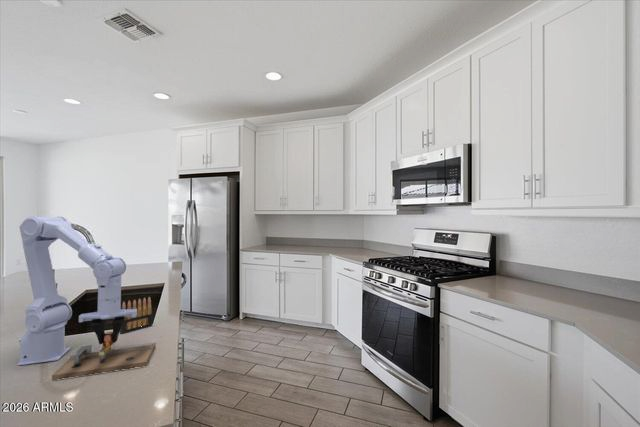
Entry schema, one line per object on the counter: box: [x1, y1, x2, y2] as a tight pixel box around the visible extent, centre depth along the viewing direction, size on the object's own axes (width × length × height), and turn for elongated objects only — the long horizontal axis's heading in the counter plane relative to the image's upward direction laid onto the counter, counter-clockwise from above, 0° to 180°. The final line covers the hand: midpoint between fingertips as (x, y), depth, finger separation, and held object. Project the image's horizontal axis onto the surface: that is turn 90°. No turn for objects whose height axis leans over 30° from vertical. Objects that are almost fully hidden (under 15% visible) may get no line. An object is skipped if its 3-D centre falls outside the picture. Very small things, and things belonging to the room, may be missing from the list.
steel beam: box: [68, 342, 153, 360], centre depth 87 cm, size 21×2×2 cm, turn 110°
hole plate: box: [51, 342, 156, 381], centre depth 85 cm, size 22×13×2 cm, turn 110°
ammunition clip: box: [119, 296, 153, 335], centre depth 110 cm, size 11×2×12 cm, turn 141°
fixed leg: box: [73, 344, 93, 367], centre depth 82 cm, size 2×7×3 cm, turn 20°
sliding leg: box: [99, 331, 116, 363], centre depth 85 cm, size 3×7×6 cm, turn 21°
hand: (108, 342), depth 86 cm, fingers closed on sliding leg, 3 cm apart
